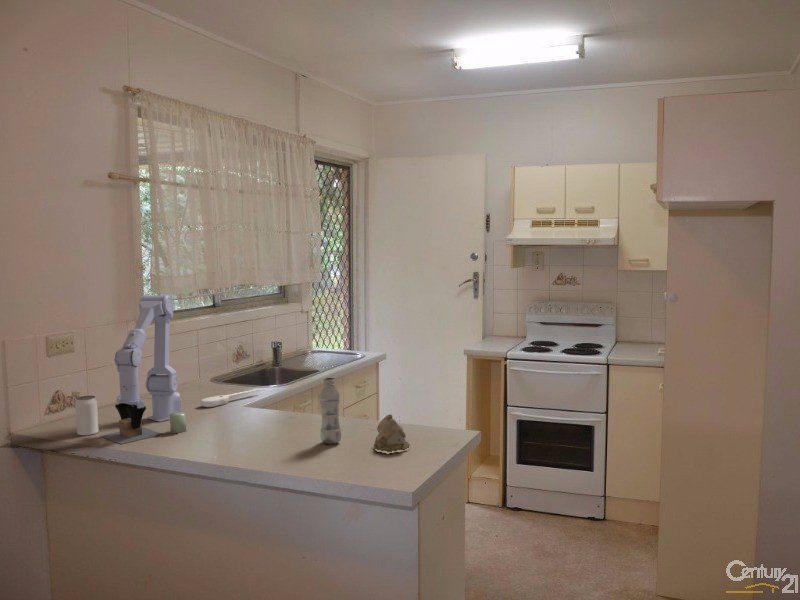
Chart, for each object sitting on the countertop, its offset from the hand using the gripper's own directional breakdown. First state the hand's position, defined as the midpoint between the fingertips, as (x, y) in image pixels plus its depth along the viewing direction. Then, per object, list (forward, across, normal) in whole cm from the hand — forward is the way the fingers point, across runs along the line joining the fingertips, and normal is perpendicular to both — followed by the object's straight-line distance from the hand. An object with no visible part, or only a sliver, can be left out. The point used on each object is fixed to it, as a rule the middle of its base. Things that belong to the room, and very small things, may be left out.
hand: (131, 426), depth 223 cm
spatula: (+3, -14, +49) cm, 51 cm away
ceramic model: (+3, +74, +44) cm, 86 cm away
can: (+3, -14, -8) cm, 16 cm away
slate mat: (+3, 0, 0) cm, 3 cm away
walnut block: (+3, 0, 0) cm, 3 cm away
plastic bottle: (+3, +57, +35) cm, 67 cm away
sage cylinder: (+3, +8, +12) cm, 15 cm away
